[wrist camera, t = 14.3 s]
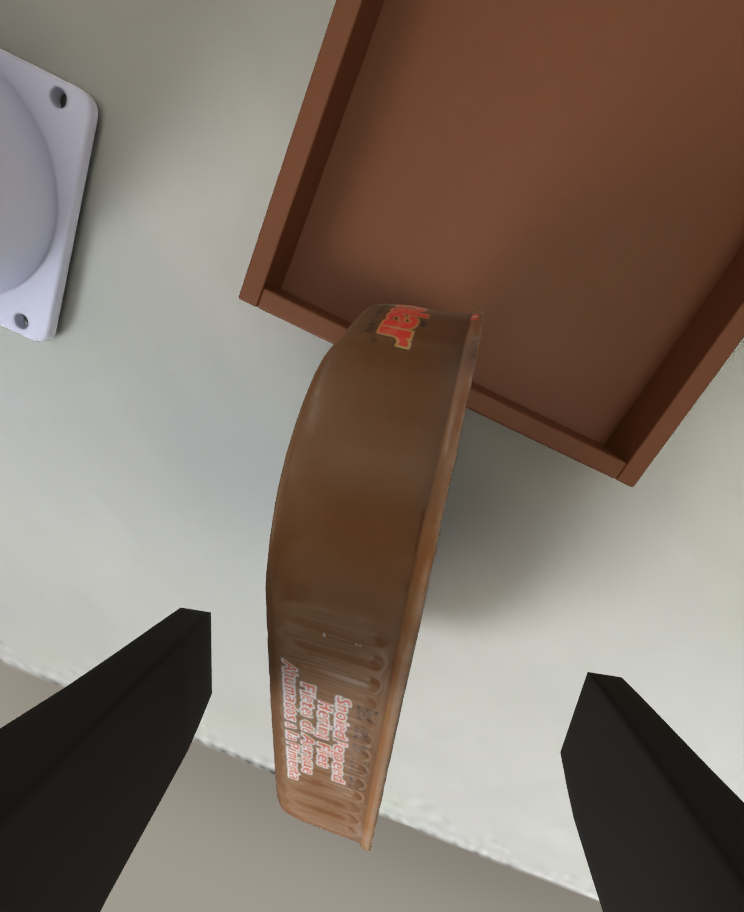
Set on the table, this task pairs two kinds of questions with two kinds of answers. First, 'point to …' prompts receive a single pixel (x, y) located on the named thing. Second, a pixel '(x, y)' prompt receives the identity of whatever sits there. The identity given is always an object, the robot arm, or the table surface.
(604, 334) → the tray
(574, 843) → the table surface
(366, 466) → the tin
